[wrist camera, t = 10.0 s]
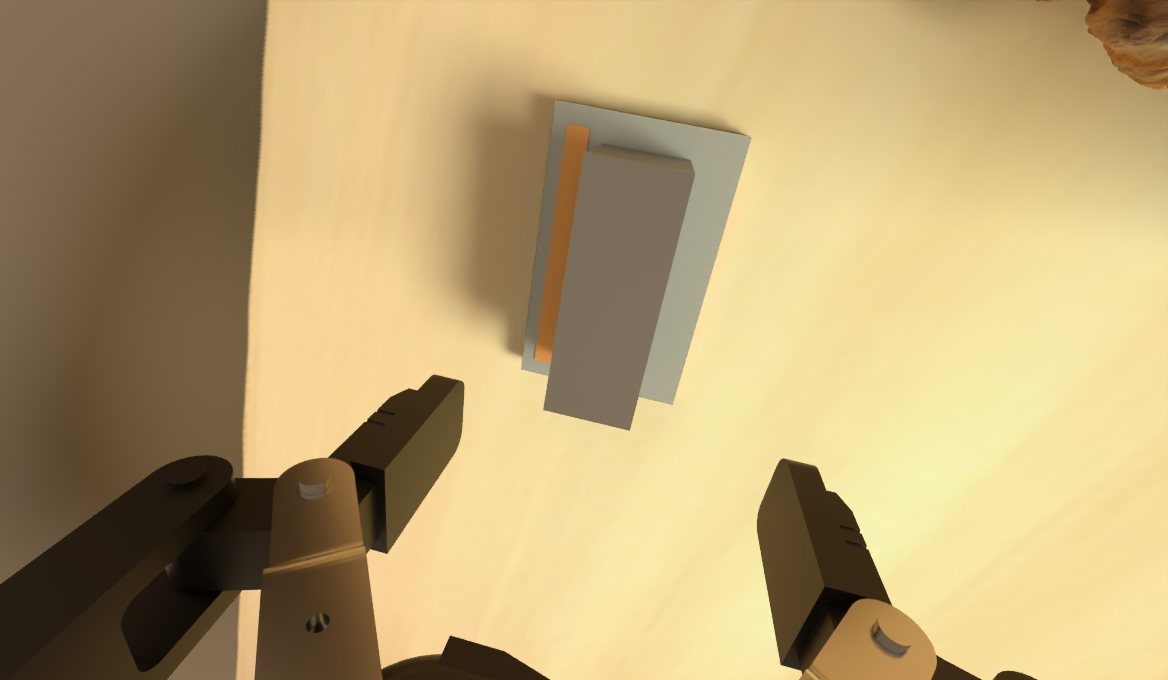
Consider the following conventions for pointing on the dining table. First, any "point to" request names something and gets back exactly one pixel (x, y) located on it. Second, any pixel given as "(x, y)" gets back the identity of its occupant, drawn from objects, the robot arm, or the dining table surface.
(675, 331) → the board
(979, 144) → the dining table surface
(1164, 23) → the lion figurine
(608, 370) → the block
